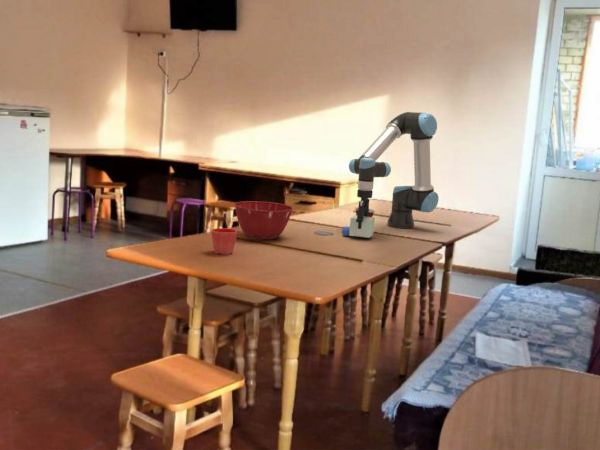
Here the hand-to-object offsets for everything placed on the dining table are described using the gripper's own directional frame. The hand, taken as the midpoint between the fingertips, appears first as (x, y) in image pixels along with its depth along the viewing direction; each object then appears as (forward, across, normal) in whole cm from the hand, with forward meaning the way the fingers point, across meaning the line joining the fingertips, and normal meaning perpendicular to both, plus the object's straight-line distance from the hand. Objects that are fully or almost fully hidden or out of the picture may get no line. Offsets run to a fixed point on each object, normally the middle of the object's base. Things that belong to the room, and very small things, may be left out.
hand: (361, 233), depth 345 cm
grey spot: (+2, 0, -20) cm, 20 cm away
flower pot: (+3, +70, -45) cm, 83 cm away
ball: (0, 0, -8) cm, 8 cm away
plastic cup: (+3, -21, -3) cm, 22 cm away
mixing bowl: (+3, +27, -43) cm, 51 cm away
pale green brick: (+1, 0, 0) cm, 1 cm away
